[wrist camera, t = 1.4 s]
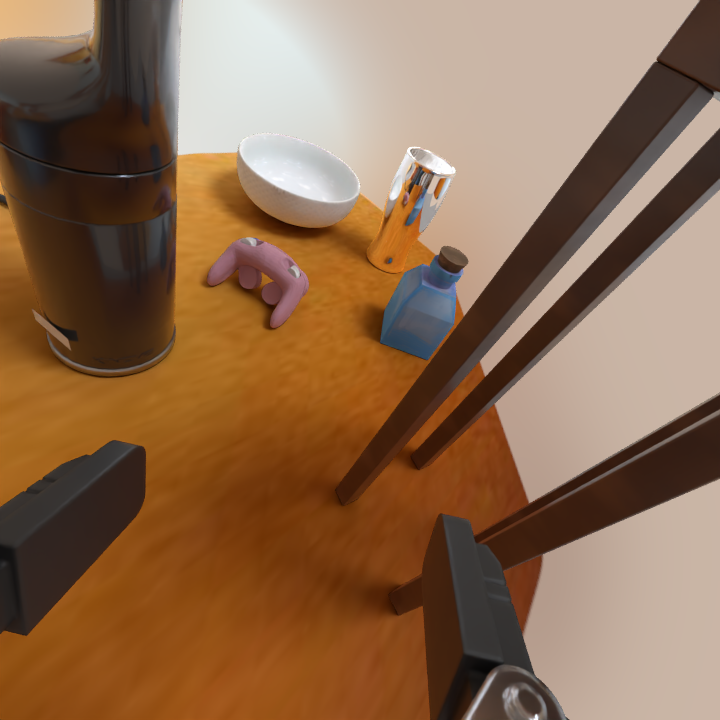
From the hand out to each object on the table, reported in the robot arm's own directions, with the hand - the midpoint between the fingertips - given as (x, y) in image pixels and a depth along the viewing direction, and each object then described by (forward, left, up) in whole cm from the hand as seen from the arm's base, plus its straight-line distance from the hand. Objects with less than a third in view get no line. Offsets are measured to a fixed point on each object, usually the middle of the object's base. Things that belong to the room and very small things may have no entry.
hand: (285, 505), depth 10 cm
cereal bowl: (-45, +25, -20) cm, 55 cm away
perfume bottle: (-19, +29, -20) cm, 40 cm away
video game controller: (-28, +13, -20) cm, 36 cm away
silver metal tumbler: (-33, +35, -20) cm, 52 cm away
